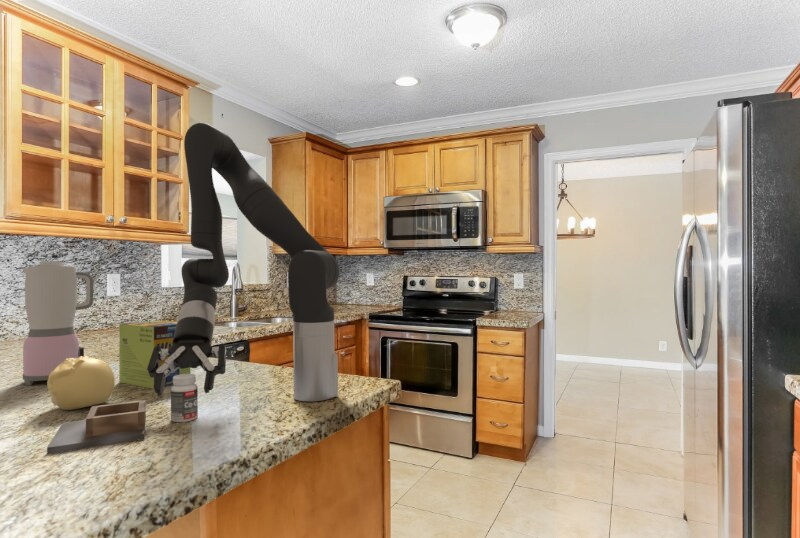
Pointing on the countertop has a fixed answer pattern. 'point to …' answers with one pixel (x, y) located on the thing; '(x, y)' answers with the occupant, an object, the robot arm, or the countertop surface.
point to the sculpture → (80, 383)
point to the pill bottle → (184, 398)
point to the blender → (52, 317)
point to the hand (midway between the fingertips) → (183, 392)
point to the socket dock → (102, 427)
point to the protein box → (144, 351)
